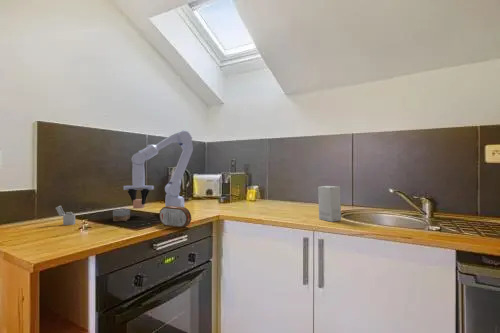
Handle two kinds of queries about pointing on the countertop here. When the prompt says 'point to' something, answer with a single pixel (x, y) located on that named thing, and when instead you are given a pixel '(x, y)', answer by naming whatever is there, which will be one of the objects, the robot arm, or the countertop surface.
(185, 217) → the tin
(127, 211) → the charcoal slab
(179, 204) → the robot arm
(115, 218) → the walnut slab
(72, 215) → the lighter
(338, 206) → the skincare box
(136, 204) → the terracotta cube
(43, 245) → the countertop surface
